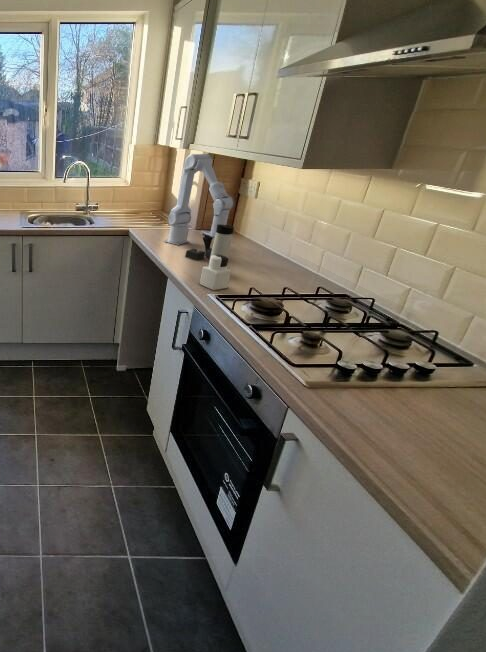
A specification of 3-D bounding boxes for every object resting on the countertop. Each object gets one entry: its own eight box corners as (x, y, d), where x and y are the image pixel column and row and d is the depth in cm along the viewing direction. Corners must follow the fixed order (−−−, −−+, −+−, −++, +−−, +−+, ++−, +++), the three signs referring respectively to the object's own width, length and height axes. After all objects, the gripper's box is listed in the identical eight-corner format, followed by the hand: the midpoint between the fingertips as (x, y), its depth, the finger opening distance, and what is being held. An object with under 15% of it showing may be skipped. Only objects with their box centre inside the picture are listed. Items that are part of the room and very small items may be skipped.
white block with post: (213, 281, 162) (219, 252, 157) (227, 288, 156) (234, 257, 151) (199, 284, 160) (205, 254, 155) (213, 290, 154) (219, 260, 149)
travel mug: (203, 270, 174) (213, 223, 166) (214, 268, 177) (225, 222, 168) (215, 275, 169) (226, 227, 161) (227, 273, 172) (238, 225, 163)
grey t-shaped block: (209, 254, 195) (210, 248, 194) (219, 256, 191) (221, 250, 190) (202, 256, 192) (203, 250, 190) (212, 259, 188) (214, 253, 187)
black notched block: (192, 254, 194) (193, 248, 193) (203, 258, 190) (205, 251, 188) (185, 256, 191) (186, 250, 190) (197, 260, 187) (198, 253, 185)
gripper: (199, 222, 189) (193, 251, 194) (230, 229, 178) (223, 259, 184) (207, 220, 193) (202, 248, 198) (238, 226, 182) (231, 256, 188)
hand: (212, 253), depth 191 cm, fingers open, 5 cm apart
